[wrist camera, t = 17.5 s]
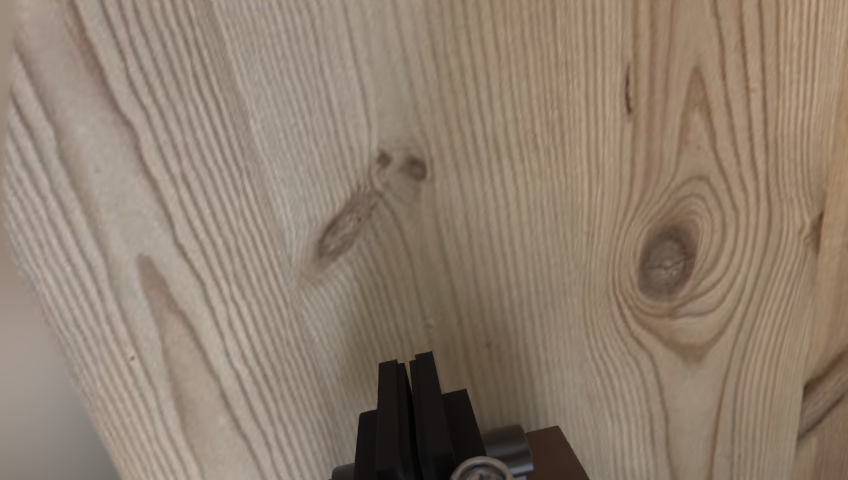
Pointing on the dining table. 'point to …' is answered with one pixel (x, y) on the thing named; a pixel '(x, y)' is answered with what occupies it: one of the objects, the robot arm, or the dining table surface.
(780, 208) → the dining table surface
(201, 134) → the dining table surface
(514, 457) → the drawer
